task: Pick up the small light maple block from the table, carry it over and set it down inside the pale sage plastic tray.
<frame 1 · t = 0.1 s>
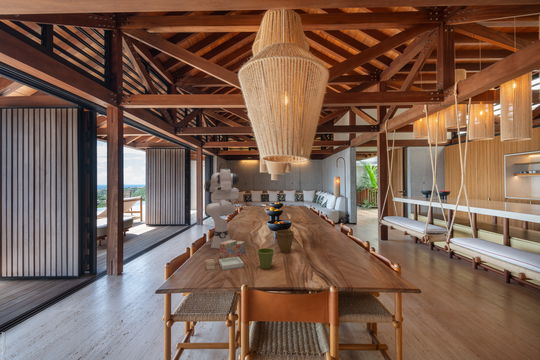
hand: (226, 205, 190), 39 cm above the table, tool pointing down, fingers open, 8 cm apart
tray: (230, 265, 165), on the table
maple block: (210, 268, 161), on the table
plant pot 2: (266, 267, 161), on the table
patterned box: (232, 256, 185), on the table
plant pot: (284, 251, 196), on the table
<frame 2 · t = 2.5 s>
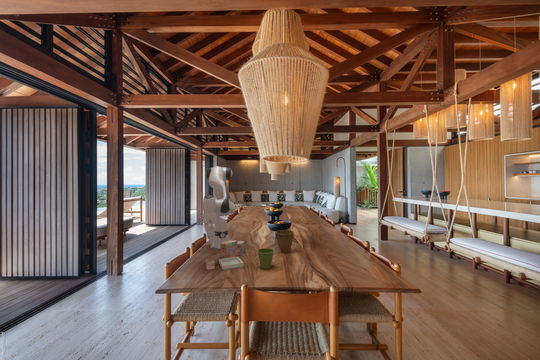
hand: (209, 240, 161), 19 cm above the table, tool pointing down, fingers open, 8 cm apart
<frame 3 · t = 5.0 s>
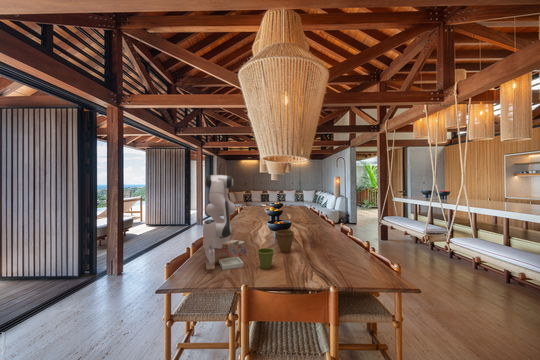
hand: (210, 264, 161), 2 cm above the table, tool pointing down, fingers closed on maple block, 5 cm apart
maple block: (210, 267, 161), on the table, touching gripper
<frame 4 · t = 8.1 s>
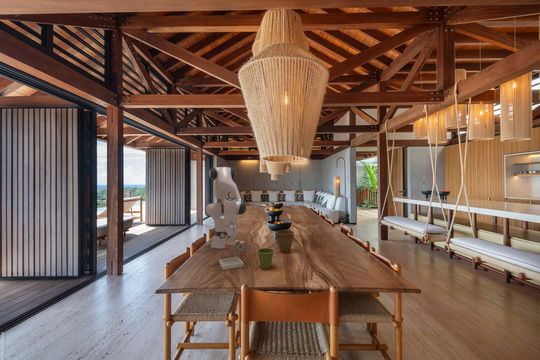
hand: (230, 241, 165), 17 cm above the table, tool pointing down, fingers closed on maple block, 5 cm apart
maple block: (230, 244, 165), point 15 cm above the table, touching gripper
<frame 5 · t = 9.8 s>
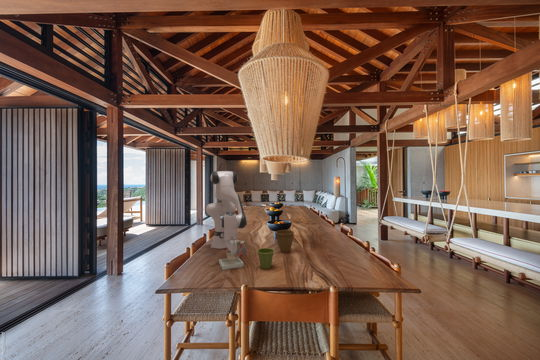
hand: (230, 255, 165), 7 cm above the table, tool pointing down, fingers closed on maple block, 5 cm apart
maple block: (230, 258, 165), point 5 cm above the table, touching gripper
when the fingers open (4 cm above the table, at t = 11.2 s): maple block drops 1 cm, resting on tray.
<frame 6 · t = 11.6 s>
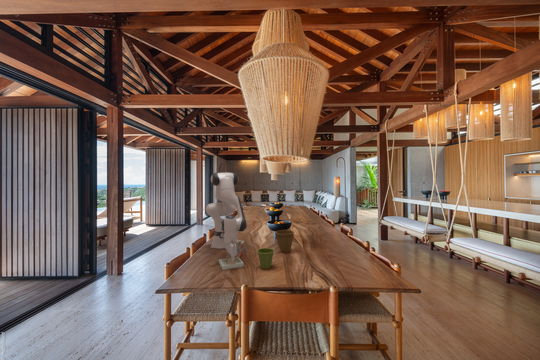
hand: (230, 259, 165), 4 cm above the table, tool pointing down, fingers open, 8 cm apart
maple block: (230, 264, 165), point 1 cm above the table, touching tray
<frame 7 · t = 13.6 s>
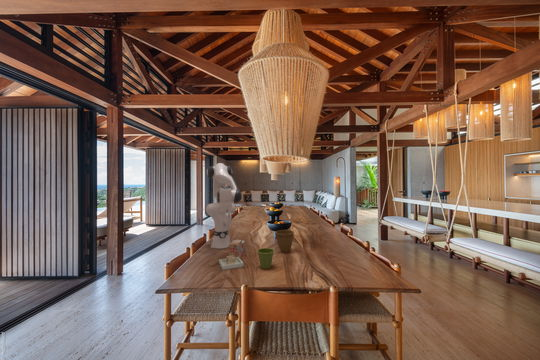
hand: (225, 228, 170), 25 cm above the table, tool pointing down, fingers open, 8 cm apart
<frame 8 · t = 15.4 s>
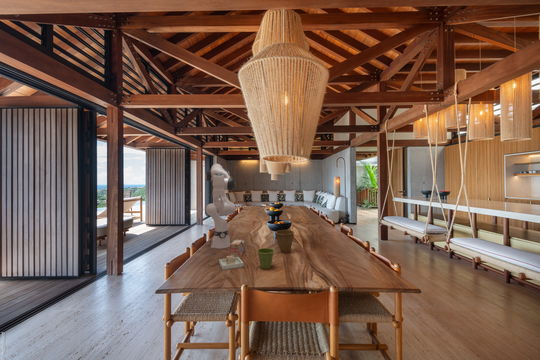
hand: (219, 213, 177), 34 cm above the table, tool pointing down, fingers open, 8 cm apart
at the end: maple block inside the target area on the tray (0.1 cm from its centre), point 0.8 cm above the tray's base; maple block tilted 0°; the gripper is holding nothing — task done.
